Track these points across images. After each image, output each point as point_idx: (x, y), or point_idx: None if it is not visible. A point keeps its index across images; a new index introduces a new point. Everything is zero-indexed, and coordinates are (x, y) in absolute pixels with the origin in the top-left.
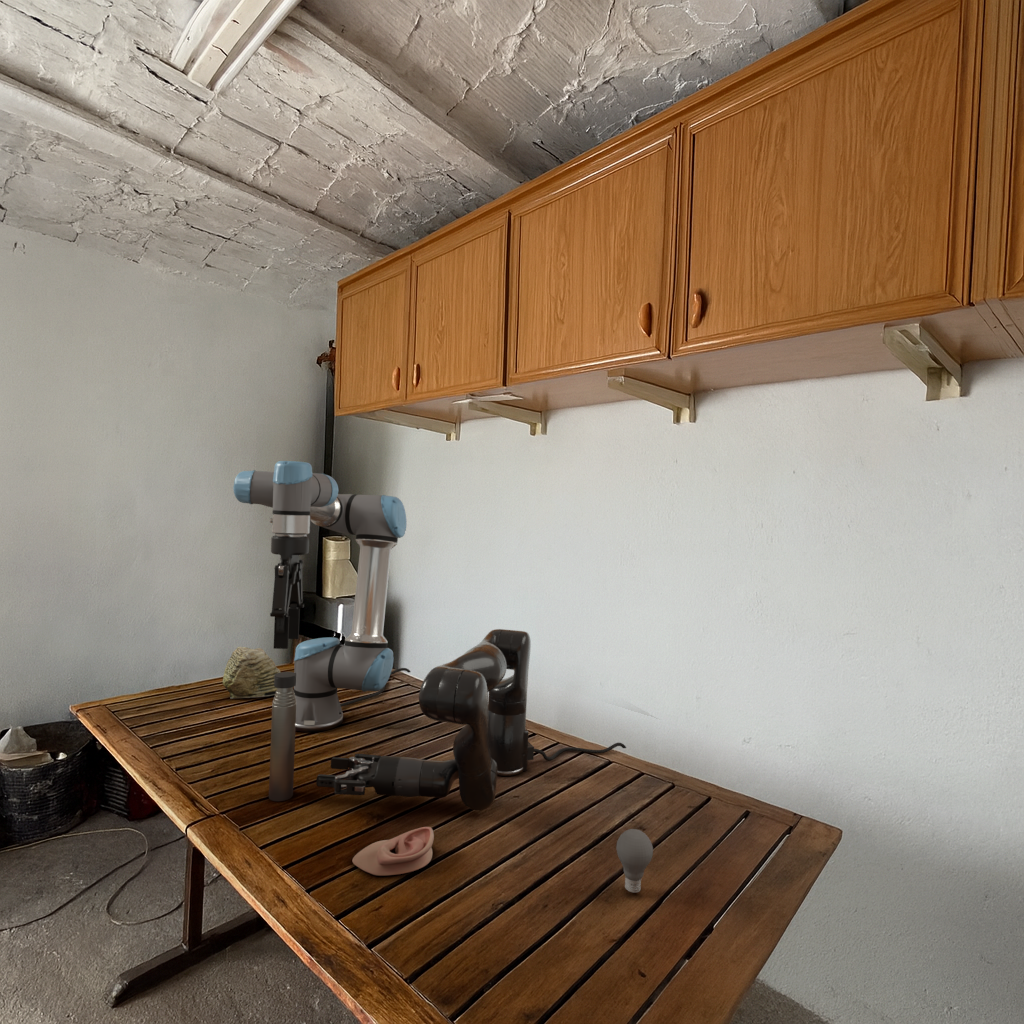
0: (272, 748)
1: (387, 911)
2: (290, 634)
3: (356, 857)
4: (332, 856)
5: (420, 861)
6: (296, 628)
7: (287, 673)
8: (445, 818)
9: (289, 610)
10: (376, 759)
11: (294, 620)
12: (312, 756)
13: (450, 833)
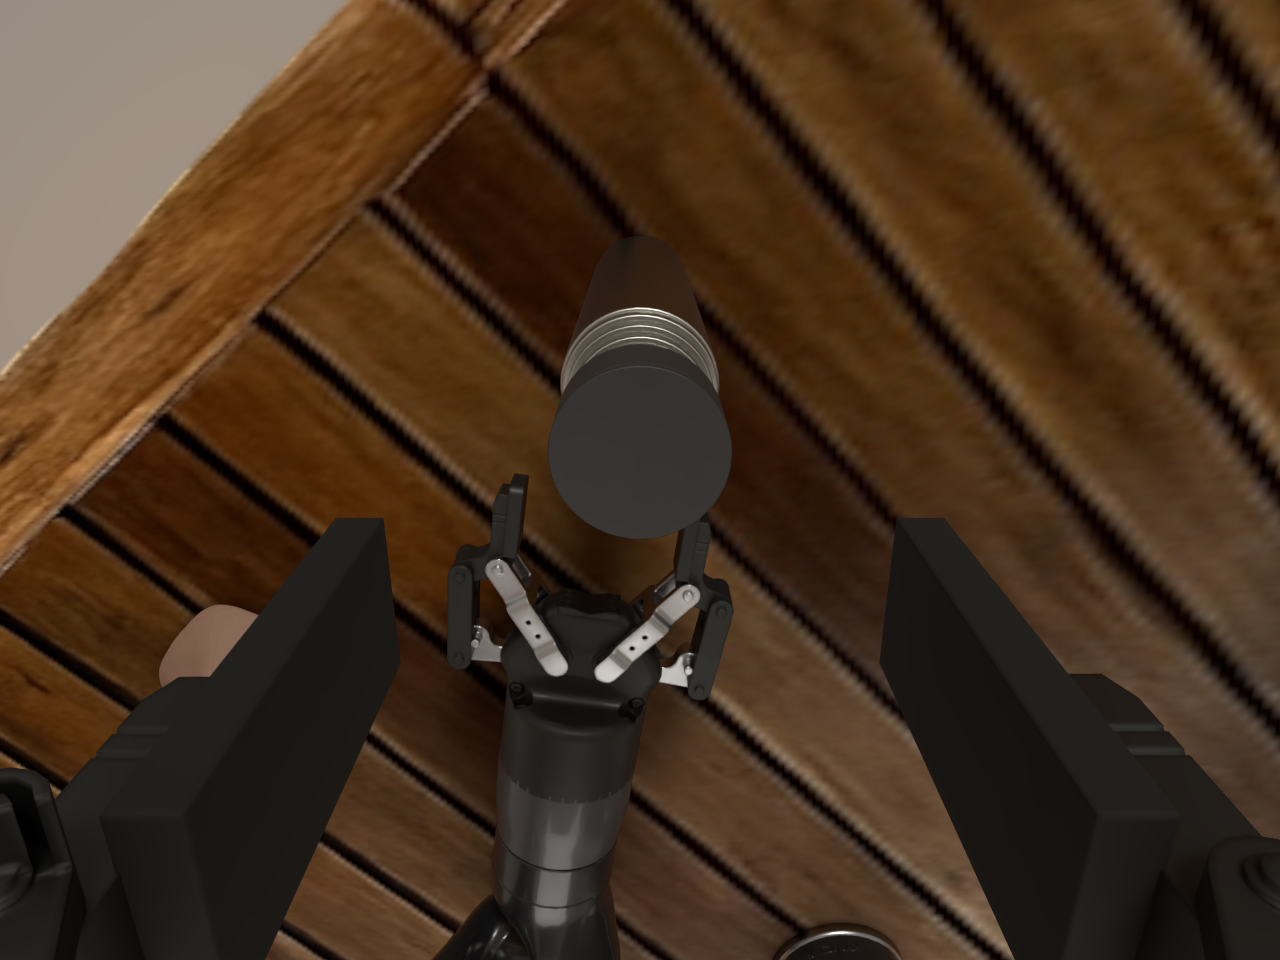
0: (594, 285)
1: (29, 705)
2: (909, 608)
3: (213, 620)
4: (244, 544)
5: None
6: (919, 730)
7: (675, 464)
8: (494, 815)
9: (1063, 847)
10: (688, 679)
11: (972, 784)
12: (1035, 324)
13: (409, 827)
